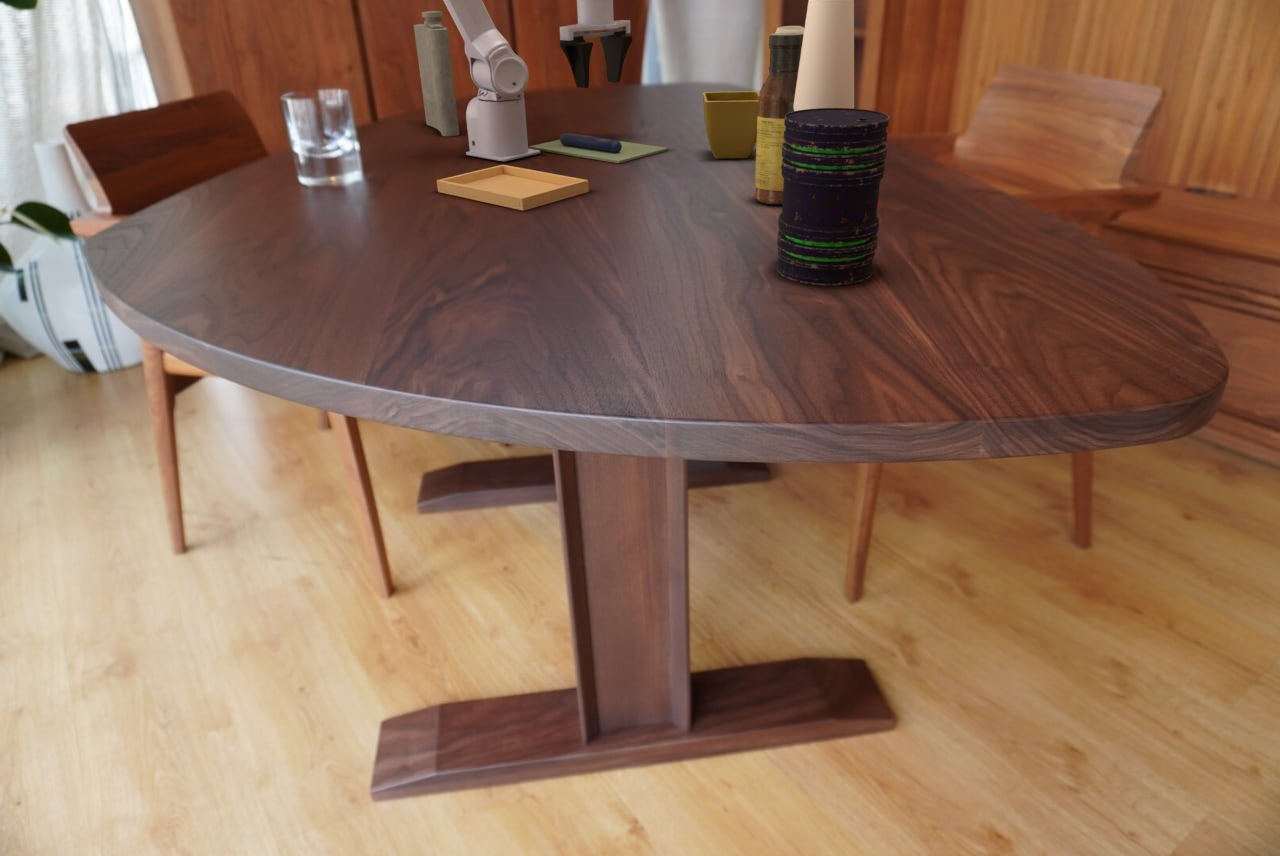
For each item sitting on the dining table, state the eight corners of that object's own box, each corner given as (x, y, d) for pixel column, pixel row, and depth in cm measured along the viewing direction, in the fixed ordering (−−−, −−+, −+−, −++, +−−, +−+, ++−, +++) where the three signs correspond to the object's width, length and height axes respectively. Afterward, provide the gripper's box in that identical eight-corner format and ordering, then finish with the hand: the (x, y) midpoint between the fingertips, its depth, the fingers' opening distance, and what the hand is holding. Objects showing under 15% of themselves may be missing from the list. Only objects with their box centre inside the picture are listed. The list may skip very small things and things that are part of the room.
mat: (529, 148, 150) (528, 146, 150) (579, 137, 158) (579, 135, 158) (619, 163, 139) (619, 160, 139) (668, 150, 147) (668, 147, 147)
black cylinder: (755, 270, 92) (761, 117, 85) (813, 249, 98) (823, 104, 91) (837, 293, 86) (851, 129, 79) (893, 268, 92) (911, 114, 85)
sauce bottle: (801, 207, 114) (812, 35, 104) (751, 206, 115) (758, 36, 105) (804, 194, 119) (814, 30, 110) (756, 193, 120) (762, 31, 111)
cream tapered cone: (776, 218, 110) (787, -2, 98) (825, 211, 112) (841, -4, 100) (804, 232, 104) (819, 1, 93) (855, 225, 106) (876, -1, 95)
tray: (437, 192, 125) (436, 180, 124) (503, 175, 133) (502, 164, 133) (523, 210, 115) (522, 198, 114) (588, 191, 123) (588, 180, 123)
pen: (567, 141, 152) (559, 146, 151) (563, 130, 150) (556, 135, 149) (625, 150, 144) (617, 156, 143) (622, 138, 143) (614, 144, 142)
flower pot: (761, 161, 138) (764, 99, 134) (704, 162, 138) (704, 100, 134) (756, 150, 146) (758, 90, 141) (701, 150, 146) (702, 91, 142)
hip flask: (425, 123, 174) (410, 9, 165) (445, 121, 176) (432, 8, 166) (443, 137, 162) (428, 14, 152) (466, 134, 163) (452, 12, 154)
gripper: (581, -5, 135) (585, 92, 141) (643, -10, 145) (645, 81, 151) (547, -5, 139) (553, 88, 146) (611, -10, 149) (614, 78, 155)
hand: (598, 84), depth 149 cm, fingers open, 7 cm apart
